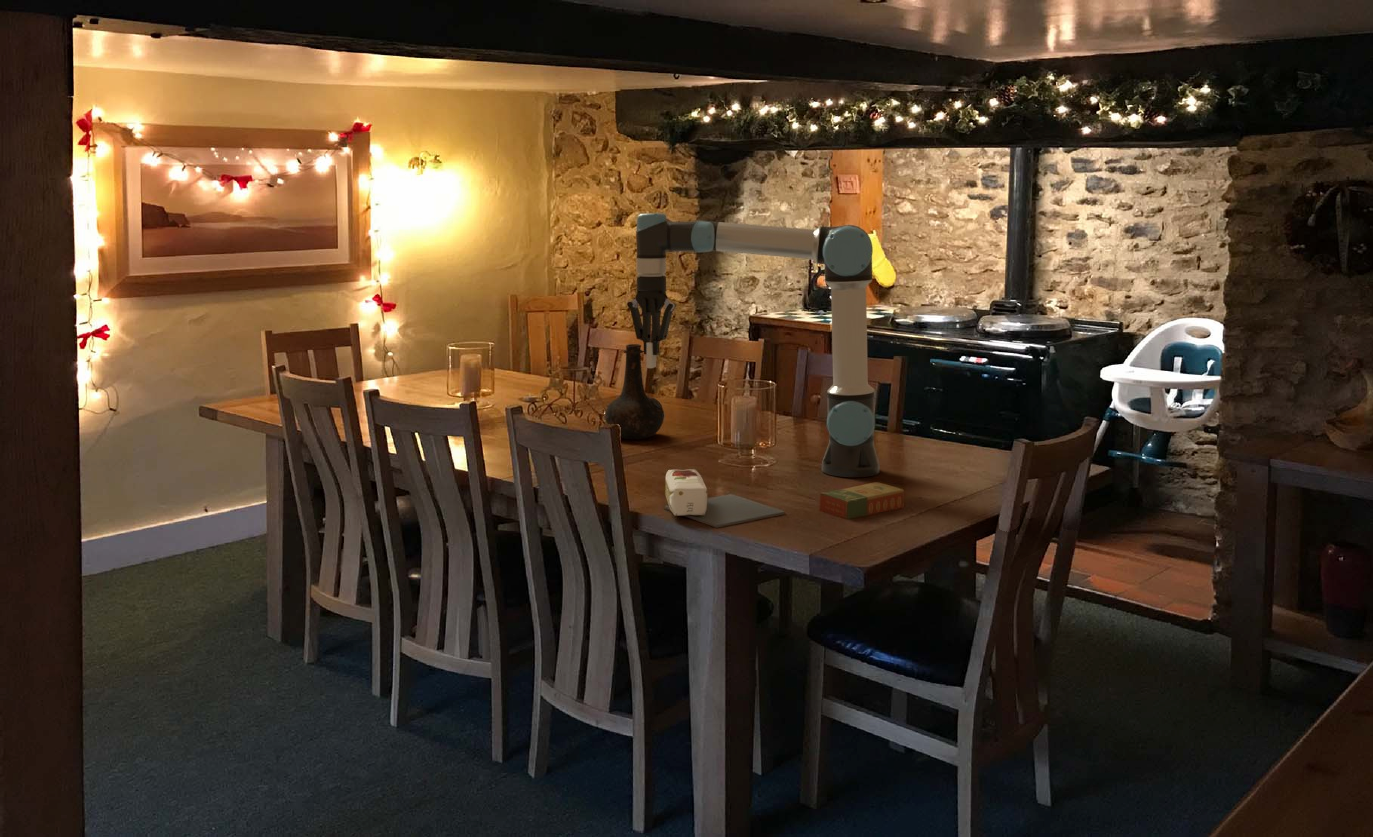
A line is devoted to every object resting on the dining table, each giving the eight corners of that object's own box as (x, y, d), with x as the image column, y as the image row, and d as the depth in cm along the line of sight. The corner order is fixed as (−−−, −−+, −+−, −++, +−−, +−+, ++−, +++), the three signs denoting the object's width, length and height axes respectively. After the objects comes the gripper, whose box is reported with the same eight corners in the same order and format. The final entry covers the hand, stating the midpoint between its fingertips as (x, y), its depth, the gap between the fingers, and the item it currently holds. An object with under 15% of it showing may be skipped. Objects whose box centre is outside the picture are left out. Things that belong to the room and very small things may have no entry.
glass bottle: (650, 444, 351) (650, 349, 346) (595, 440, 357) (594, 346, 352) (673, 433, 367) (673, 342, 362) (619, 429, 373) (619, 340, 368)
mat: (664, 508, 280) (664, 506, 280) (731, 496, 292) (731, 493, 292) (716, 527, 264) (716, 525, 264) (785, 513, 276) (785, 511, 276)
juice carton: (699, 497, 289) (708, 518, 270) (663, 497, 288) (670, 518, 269) (699, 466, 287) (708, 485, 269) (664, 467, 286) (670, 486, 268)
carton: (904, 508, 282) (905, 488, 281) (846, 521, 272) (847, 500, 271) (875, 500, 290) (876, 480, 289) (818, 511, 280) (819, 491, 279)
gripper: (680, 275, 304) (680, 367, 309) (634, 273, 310) (635, 364, 314) (668, 276, 298) (668, 371, 302) (621, 275, 303) (622, 367, 307)
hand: (651, 367), depth 308 cm, fingers closed
